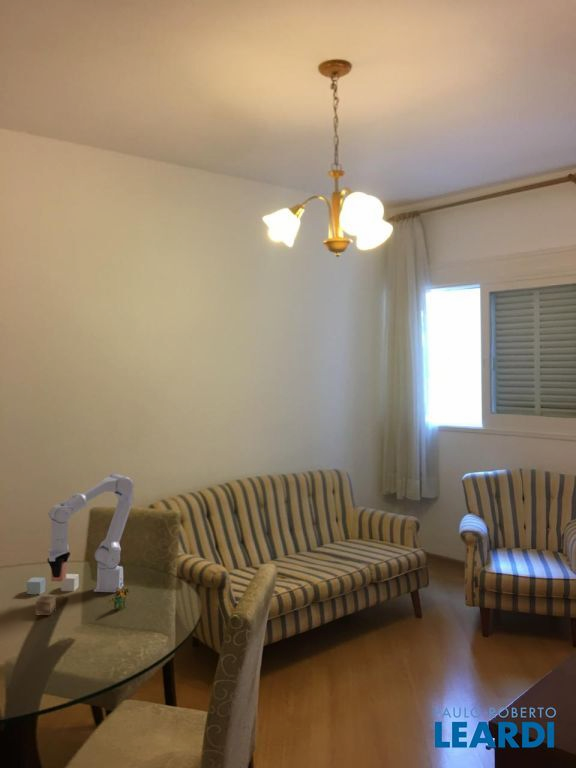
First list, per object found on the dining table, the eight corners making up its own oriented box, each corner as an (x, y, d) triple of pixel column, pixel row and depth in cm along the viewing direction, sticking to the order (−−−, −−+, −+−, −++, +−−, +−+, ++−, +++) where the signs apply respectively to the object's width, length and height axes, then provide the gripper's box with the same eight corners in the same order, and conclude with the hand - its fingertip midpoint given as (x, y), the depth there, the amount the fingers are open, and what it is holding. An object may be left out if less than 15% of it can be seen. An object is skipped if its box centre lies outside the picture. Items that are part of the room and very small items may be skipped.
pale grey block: (78, 586, 249) (78, 574, 249) (74, 591, 244) (74, 578, 244) (65, 586, 250) (65, 573, 249) (61, 591, 245) (61, 578, 244)
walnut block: (55, 610, 225) (55, 596, 225) (50, 616, 220) (50, 602, 220) (41, 610, 226) (41, 596, 225) (35, 616, 221) (35, 601, 220)
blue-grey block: (45, 590, 245) (45, 577, 244) (40, 595, 240) (40, 582, 239) (32, 590, 245) (32, 577, 244) (26, 595, 240) (26, 581, 239)
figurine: (132, 604, 233) (132, 582, 232) (111, 616, 222) (111, 593, 221) (124, 603, 234) (125, 581, 234) (104, 615, 223) (104, 591, 222)
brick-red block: (66, 577, 237) (66, 561, 236) (62, 581, 233) (62, 565, 232) (55, 577, 237) (55, 561, 237) (51, 581, 233) (51, 564, 233)
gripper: (55, 532, 241) (55, 568, 242) (40, 543, 227) (39, 581, 227) (74, 533, 241) (73, 568, 242) (60, 544, 227) (59, 581, 227)
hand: (58, 574), depth 235 cm, fingers closed on brick-red block, 4 cm apart
